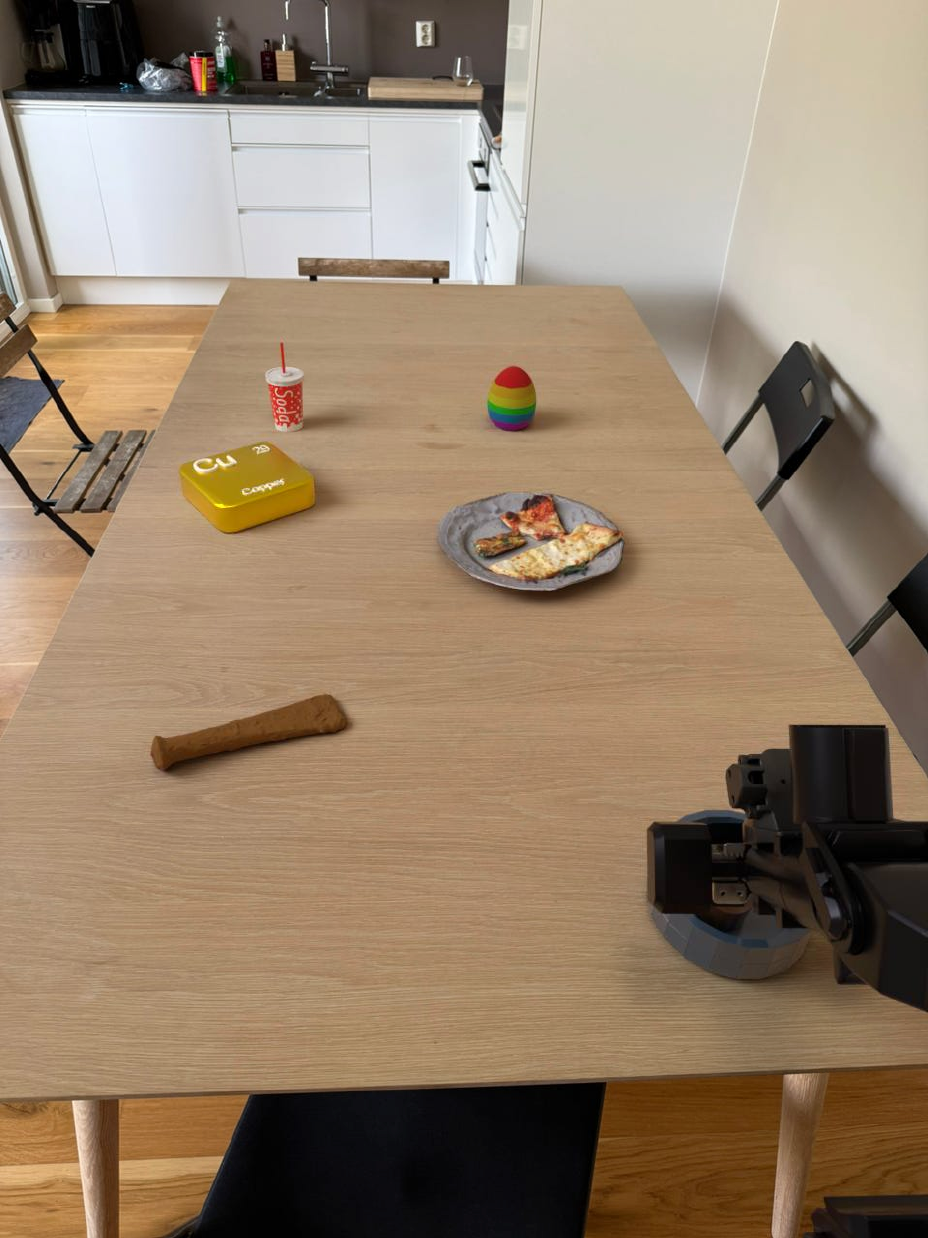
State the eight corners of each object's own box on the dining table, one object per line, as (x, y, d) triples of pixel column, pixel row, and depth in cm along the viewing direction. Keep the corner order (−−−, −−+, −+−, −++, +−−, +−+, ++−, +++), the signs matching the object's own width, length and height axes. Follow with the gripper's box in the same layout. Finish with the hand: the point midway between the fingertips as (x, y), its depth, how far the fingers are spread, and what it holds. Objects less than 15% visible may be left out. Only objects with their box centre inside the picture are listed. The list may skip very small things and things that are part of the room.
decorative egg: (515, 409, 156) (519, 354, 150) (544, 427, 150) (549, 370, 144) (477, 419, 152) (479, 363, 146) (504, 438, 147) (508, 380, 141)
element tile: (224, 537, 120) (219, 506, 117) (177, 491, 129) (172, 461, 126) (321, 505, 128) (318, 475, 125) (270, 464, 137) (267, 435, 134)
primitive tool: (330, 696, 96) (328, 671, 94) (351, 728, 92) (349, 703, 90) (149, 756, 88) (143, 731, 86) (164, 794, 84) (157, 768, 82)
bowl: (841, 955, 74) (859, 919, 70) (698, 1005, 70) (712, 969, 67) (747, 830, 84) (760, 794, 81) (618, 867, 80) (626, 831, 77)
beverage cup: (263, 429, 146) (254, 346, 137) (282, 415, 151) (274, 333, 142) (296, 436, 144) (289, 352, 136) (314, 421, 149) (308, 339, 140)
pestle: (755, 923, 75) (811, 833, 65) (709, 937, 74) (760, 847, 64) (729, 877, 78) (779, 784, 68) (684, 890, 77) (729, 797, 67)
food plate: (552, 490, 134) (554, 469, 131) (657, 566, 118) (662, 543, 116) (407, 533, 122) (407, 511, 120) (503, 623, 107) (505, 600, 105)
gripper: (960, 759, 58) (848, 752, 73) (677, 755, 57) (623, 749, 73) (970, 936, 57) (853, 892, 72) (679, 935, 56) (625, 890, 71)
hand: (739, 852), depth 72 cm, fingers closed on pestle, 3 cm apart
